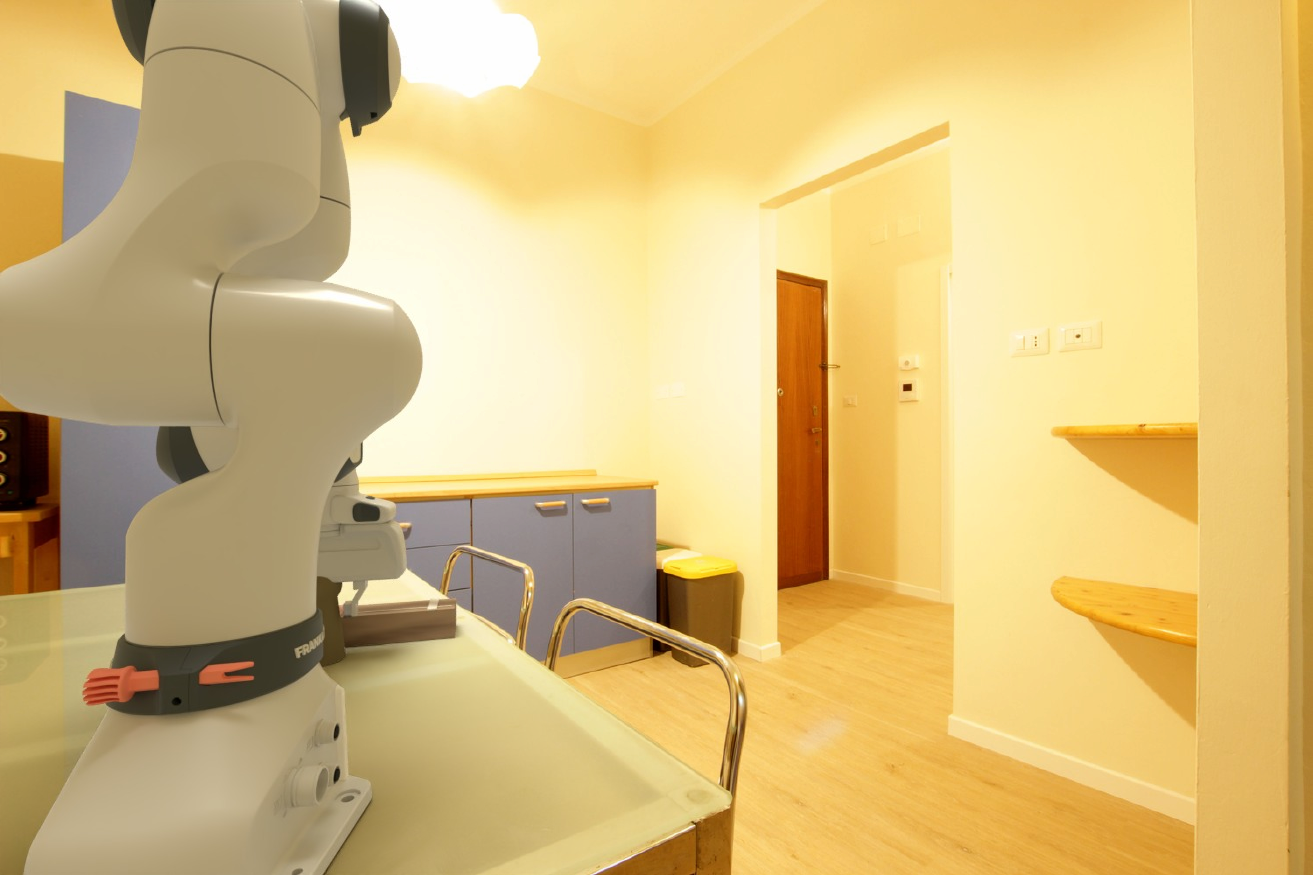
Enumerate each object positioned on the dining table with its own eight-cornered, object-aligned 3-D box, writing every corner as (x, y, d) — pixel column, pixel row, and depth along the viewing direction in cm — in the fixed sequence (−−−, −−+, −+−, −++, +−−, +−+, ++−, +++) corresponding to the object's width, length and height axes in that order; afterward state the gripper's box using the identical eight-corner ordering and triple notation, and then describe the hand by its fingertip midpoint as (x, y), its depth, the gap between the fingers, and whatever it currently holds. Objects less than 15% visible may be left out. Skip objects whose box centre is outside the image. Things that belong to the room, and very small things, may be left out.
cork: (304, 671, 71) (304, 578, 72) (282, 661, 75) (282, 572, 75) (355, 657, 76) (355, 570, 76) (332, 647, 80) (332, 564, 80)
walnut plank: (454, 637, 84) (454, 607, 84) (292, 651, 78) (292, 619, 79) (456, 625, 90) (456, 596, 90) (305, 637, 84) (305, 607, 84)
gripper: (213, 513, 70) (212, 633, 70) (402, 508, 76) (402, 618, 76) (234, 508, 76) (233, 618, 76) (408, 503, 82) (408, 605, 82)
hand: (319, 618), depth 76 cm, fingers open, 6 cm apart
